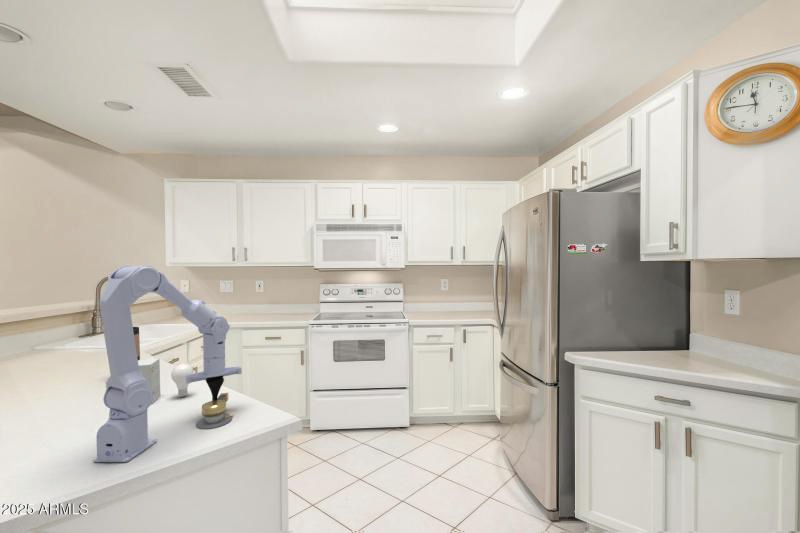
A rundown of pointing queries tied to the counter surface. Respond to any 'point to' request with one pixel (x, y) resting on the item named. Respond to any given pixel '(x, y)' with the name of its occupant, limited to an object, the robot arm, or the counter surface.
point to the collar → (215, 406)
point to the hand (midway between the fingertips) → (214, 402)
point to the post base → (210, 426)
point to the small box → (151, 375)
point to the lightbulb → (181, 378)
